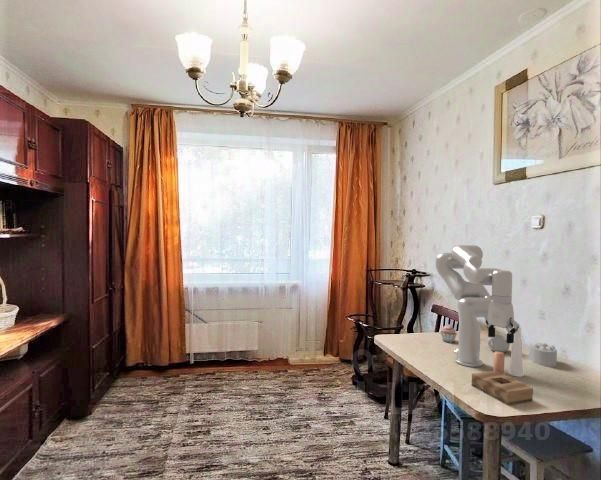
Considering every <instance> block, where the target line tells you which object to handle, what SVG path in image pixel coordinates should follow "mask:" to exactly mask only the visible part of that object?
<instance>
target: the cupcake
mask: <svg viewBox="0 0 601 480" xmlns="http://www.w3.org/2000/svg"><path fill="white" fill-rule="evenodd" d="M439 333H440V336H441V340H442V341H443V342H444V343H454V342H455V340H456V337H457V335H458V333H457V332H456V329H455V328H454V327H453V326H452V324H449V323H447V324H446V325H444V326H443V327H442V328H441V329H440V331H439Z"/></svg>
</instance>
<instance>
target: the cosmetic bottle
mask: <svg viewBox="0 0 601 480" xmlns="http://www.w3.org/2000/svg"><path fill="white" fill-rule="evenodd" d="M521 326H522V325H520V326H519V328H518V331H516V333H515V334H514V343H511V352H510V353H511V354H510V363H509V367H508V375H510V376H513V377H519V378H520V377H524V376H525V373H524V366H523V365H524V364H523V340H522V328H521Z"/></svg>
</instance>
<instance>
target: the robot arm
mask: <svg viewBox="0 0 601 480" xmlns="http://www.w3.org/2000/svg"><path fill="white" fill-rule="evenodd" d="M483 252H484V251H483V250H482V248H481V247H480V246H478V245H473V244H472V245H470V244H469V245H466V244H461V245H460V244H459V245H456V246H454V247H453V248H452V250H451V252H443V253H440V254H437V256H436V258H435V268H436V271H437V273H438V275H439V276H440V277H441V278H442V280H443V281H444V283H445V284H446V286H447V288H448V289H449V291H450V293H451V295H452V297H454V299H455V300H456V301H458V302H457V306H456V307H457V313H458V347H457V348H456V350H454V351H453V353H454V354H456V356H455V357H454V362H455V363H457V365H458V364H459V365H461V366H465V367H471V368H472V367H473V368H474V367H476V368H478V367H482V366H483V365H484V361H483V360H481V359H480V354H481V353H480V352H481V325H480V323H479V321H478V320H477V318H484V321H485V323H486V324H485V325H486V327H487V330H488V331H487V338H488V337H495V334H496V327H498V328H501V329H505V330H506V331H507V333H506V336H507V343H510V344H512V343H514V334H515V333H516V331H518V328H519V326H521V325H520V324H519V323H518V322H517V321H516V320H515V313H514V310H515V309H514V306H513V304H512V303H513V301H512V299H513V273H512V272H511V271H509V270H505V269H500V268H491V267H490V268H489V267H487V268H486V267H483V268H482V263H483V256H484V253H483ZM460 269H461V270H463V274H464V277H465V278H466V279H467V280H468V281H466V280H465V279H464V277H463V276H462V275H461V273H459V272H458V271H456V270H460ZM486 286H491V294H490V293H489V291H488V290H487V288H486Z"/></svg>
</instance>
